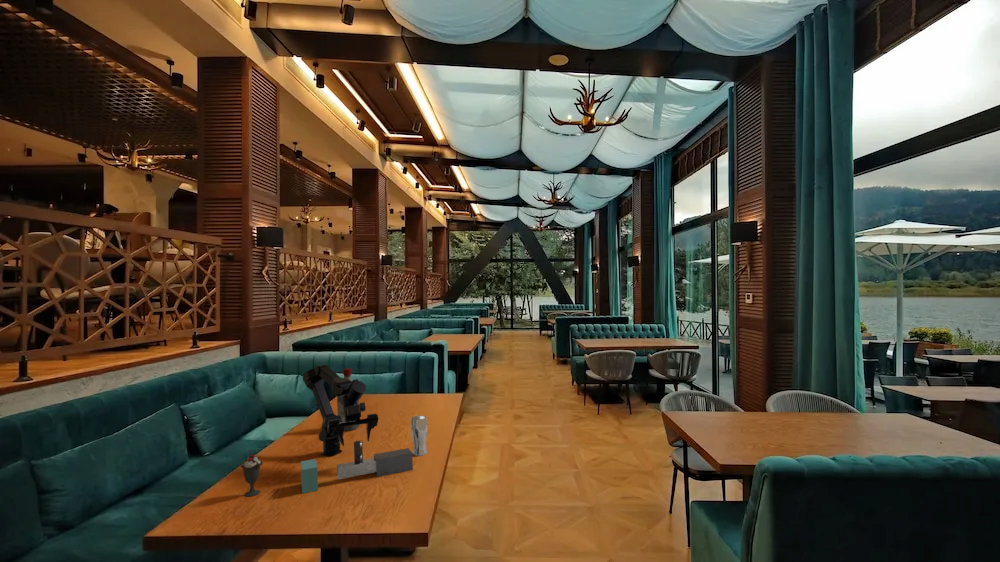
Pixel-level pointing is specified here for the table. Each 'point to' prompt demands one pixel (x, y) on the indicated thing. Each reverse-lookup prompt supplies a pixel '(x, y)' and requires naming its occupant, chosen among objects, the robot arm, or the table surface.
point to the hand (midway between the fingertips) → (356, 442)
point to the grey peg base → (356, 464)
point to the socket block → (309, 476)
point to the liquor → (340, 406)
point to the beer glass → (419, 435)
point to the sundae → (251, 473)
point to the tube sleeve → (393, 462)
